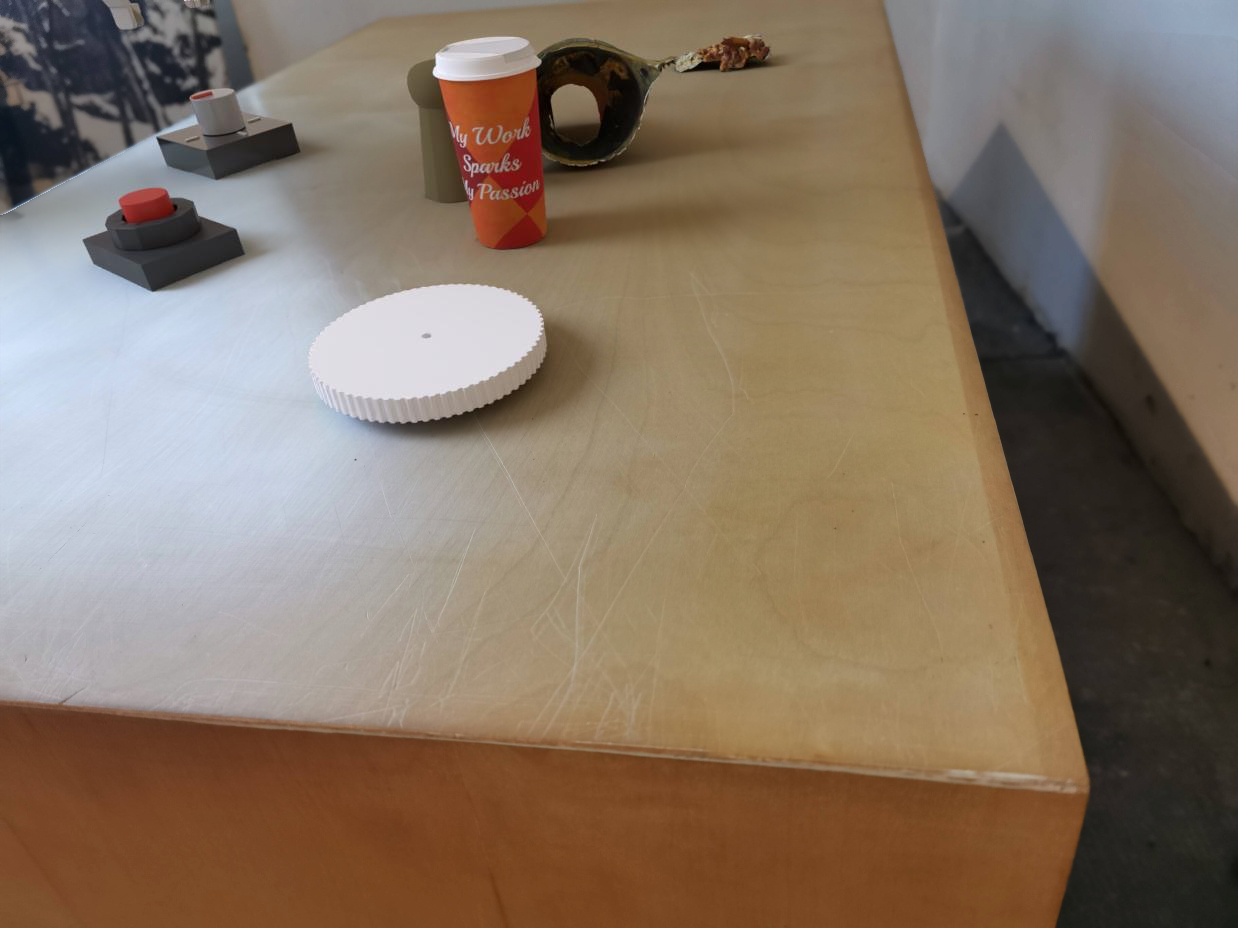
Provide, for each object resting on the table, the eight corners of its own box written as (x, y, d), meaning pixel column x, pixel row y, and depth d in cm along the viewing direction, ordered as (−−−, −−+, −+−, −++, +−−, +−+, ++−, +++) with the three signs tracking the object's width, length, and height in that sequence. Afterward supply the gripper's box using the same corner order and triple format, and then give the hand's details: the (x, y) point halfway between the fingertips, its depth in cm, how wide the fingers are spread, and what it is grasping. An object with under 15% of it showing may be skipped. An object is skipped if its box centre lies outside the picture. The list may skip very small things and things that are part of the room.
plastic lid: (591, 380, 51) (587, 342, 49) (365, 469, 45) (353, 430, 44) (488, 298, 61) (482, 265, 59) (291, 364, 55) (279, 329, 54)
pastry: (669, 64, 111) (668, 34, 109) (760, 54, 112) (761, 24, 110) (680, 77, 106) (679, 45, 104) (776, 66, 107) (777, 34, 104)
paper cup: (452, 254, 67) (413, 62, 59) (480, 217, 73) (449, 37, 65) (549, 255, 66) (523, 57, 57) (570, 216, 72) (549, 32, 63)
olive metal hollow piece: (631, 20, 90) (651, -16, 73) (675, 125, 94) (703, 114, 77) (484, 96, 91) (470, 78, 74) (533, 196, 95) (531, 201, 78)
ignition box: (93, 264, 71) (71, 217, 69) (183, 231, 76) (165, 186, 73) (152, 292, 66) (130, 242, 63) (245, 254, 70) (228, 207, 68)
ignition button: (119, 220, 68) (109, 199, 67) (161, 205, 70) (153, 184, 69) (140, 229, 66) (131, 207, 65) (184, 213, 69) (175, 192, 68)
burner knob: (231, 121, 93) (218, 83, 90) (253, 126, 90) (241, 87, 88) (193, 132, 90) (179, 94, 88) (215, 138, 88) (202, 98, 85)
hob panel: (166, 165, 92) (154, 135, 90) (249, 139, 98) (240, 110, 96) (216, 180, 86) (204, 148, 84) (300, 151, 92) (291, 121, 90)
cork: (465, 174, 82) (443, 50, 76) (504, 187, 79) (484, 57, 72) (412, 193, 79) (384, 65, 72) (450, 207, 76) (424, 74, 69)
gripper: (153, -173, 79) (207, -4, 87) (-30, -162, 63) (57, 42, 72) (211, -178, 78) (261, -6, 86) (39, -169, 62) (120, 41, 70)
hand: (167, 17), depth 79 cm, fingers open, 8 cm apart
